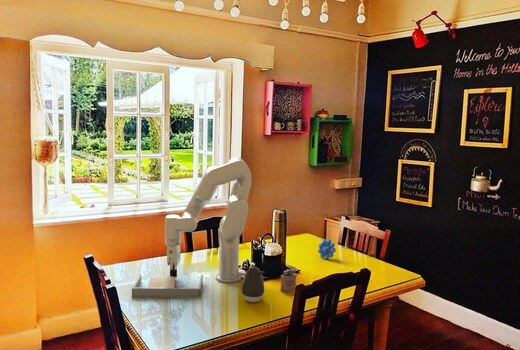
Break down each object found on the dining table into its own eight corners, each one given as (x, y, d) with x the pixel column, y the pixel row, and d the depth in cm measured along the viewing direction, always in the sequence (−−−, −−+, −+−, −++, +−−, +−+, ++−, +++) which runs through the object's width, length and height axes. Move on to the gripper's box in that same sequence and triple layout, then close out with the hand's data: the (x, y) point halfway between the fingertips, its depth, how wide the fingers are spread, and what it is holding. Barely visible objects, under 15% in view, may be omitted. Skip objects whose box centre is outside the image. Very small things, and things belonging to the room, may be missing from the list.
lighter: (282, 293, 201) (283, 272, 199) (278, 290, 204) (279, 269, 202) (297, 290, 204) (298, 269, 203) (293, 287, 207) (294, 267, 206)
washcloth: (146, 297, 192) (146, 290, 191) (150, 281, 209) (150, 275, 209) (174, 296, 194) (174, 289, 193) (175, 280, 211) (175, 274, 211)
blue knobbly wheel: (338, 260, 249) (340, 239, 247) (332, 262, 244) (333, 242, 242) (321, 255, 257) (323, 235, 255) (315, 257, 252) (316, 237, 250)
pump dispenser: (256, 307, 185) (257, 273, 183) (236, 300, 190) (237, 267, 188) (268, 299, 194) (270, 266, 191) (249, 293, 199) (250, 261, 197)
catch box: (202, 283, 208) (202, 275, 208) (200, 297, 193) (200, 288, 192) (139, 282, 206) (139, 274, 206) (131, 296, 191) (131, 288, 190)
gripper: (178, 245, 201) (178, 283, 204) (183, 236, 216) (183, 271, 219) (161, 245, 201) (162, 283, 204) (168, 236, 216) (168, 271, 219)
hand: (173, 277), depth 211 cm, fingers closed
